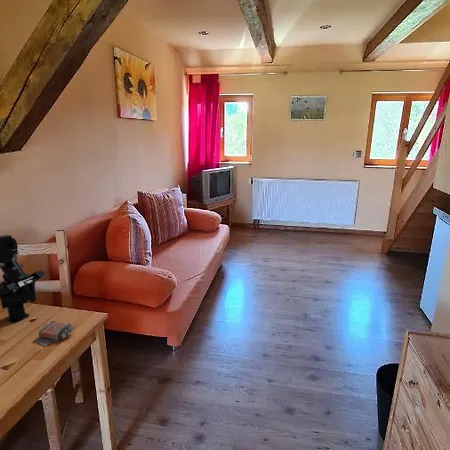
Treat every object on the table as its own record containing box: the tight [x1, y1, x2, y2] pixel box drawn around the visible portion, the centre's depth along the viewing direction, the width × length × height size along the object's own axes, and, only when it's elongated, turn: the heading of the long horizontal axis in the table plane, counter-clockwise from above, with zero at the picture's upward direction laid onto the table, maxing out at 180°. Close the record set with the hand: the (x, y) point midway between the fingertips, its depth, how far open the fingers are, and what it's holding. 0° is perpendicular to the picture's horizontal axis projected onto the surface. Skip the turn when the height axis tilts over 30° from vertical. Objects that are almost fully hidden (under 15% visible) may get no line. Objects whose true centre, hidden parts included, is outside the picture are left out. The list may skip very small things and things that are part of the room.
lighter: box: [37, 320, 76, 341], centre depth 124 cm, size 8×3×10 cm
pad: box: [34, 337, 57, 347], centre depth 124 cm, size 6×10×1 cm, turn 151°
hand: (34, 301), depth 128 cm, fingers closed
